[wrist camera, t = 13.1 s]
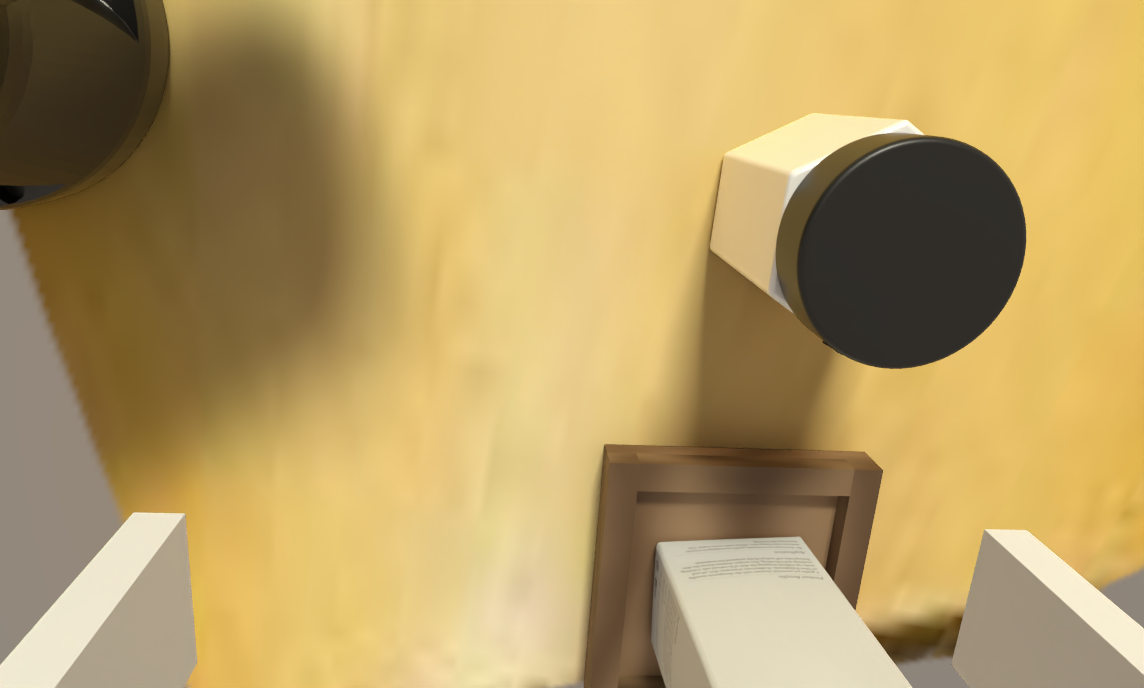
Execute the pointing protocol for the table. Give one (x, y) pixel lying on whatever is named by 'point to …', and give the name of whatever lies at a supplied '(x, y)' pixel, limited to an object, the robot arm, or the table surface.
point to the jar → (873, 234)
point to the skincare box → (759, 620)
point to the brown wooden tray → (713, 530)
